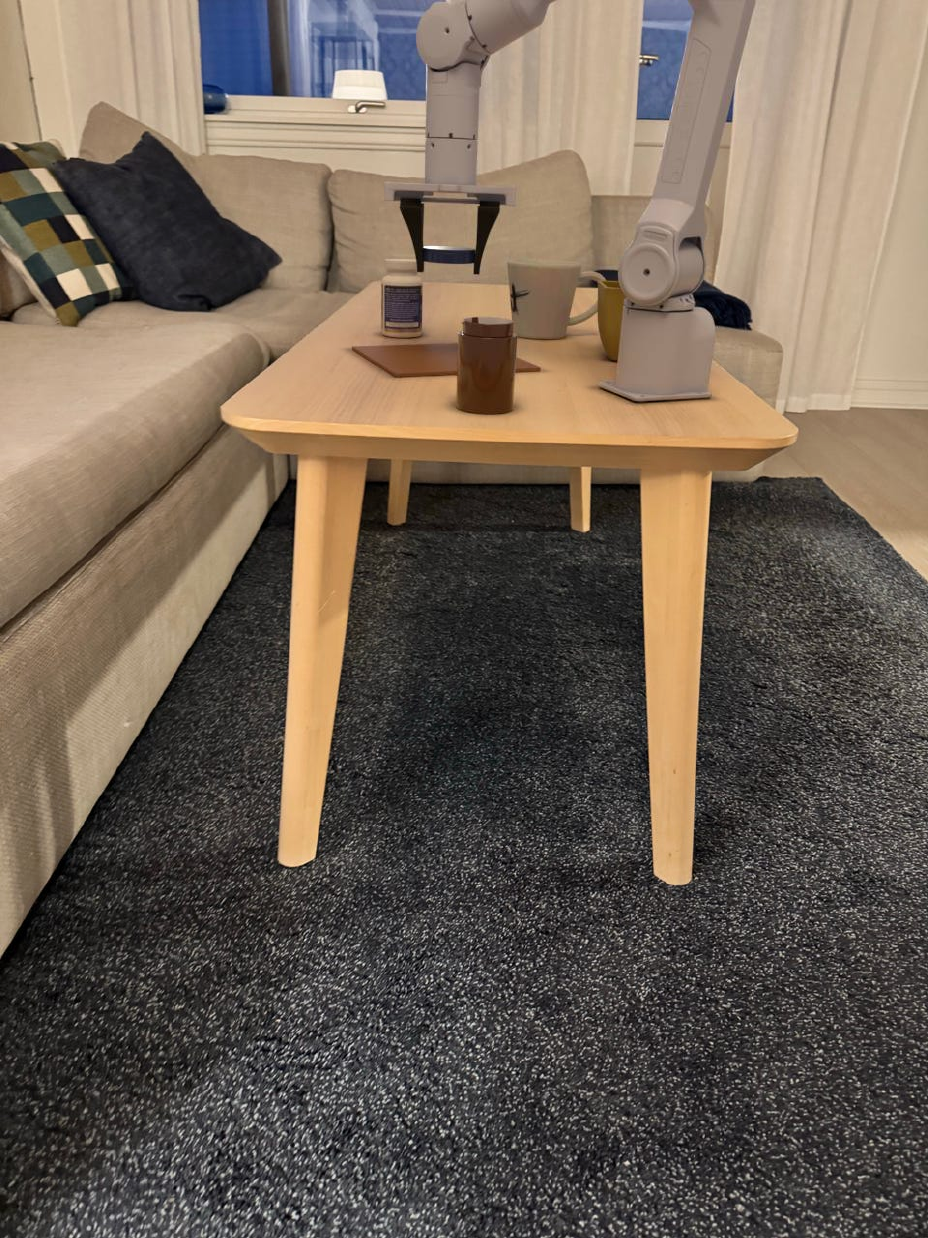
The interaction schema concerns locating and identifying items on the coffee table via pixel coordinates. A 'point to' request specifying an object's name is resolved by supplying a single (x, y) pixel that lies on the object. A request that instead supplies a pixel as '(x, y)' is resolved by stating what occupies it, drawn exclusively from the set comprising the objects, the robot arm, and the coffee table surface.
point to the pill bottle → (401, 299)
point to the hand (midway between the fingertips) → (448, 272)
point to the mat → (421, 359)
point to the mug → (546, 296)
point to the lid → (448, 255)
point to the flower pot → (610, 316)
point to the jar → (486, 365)
